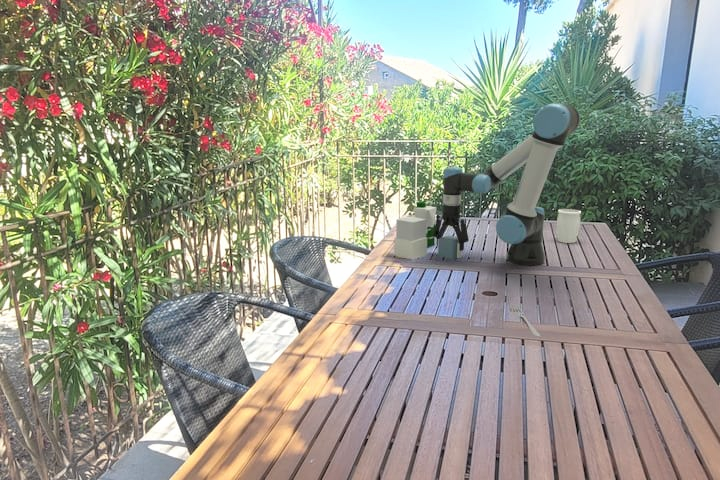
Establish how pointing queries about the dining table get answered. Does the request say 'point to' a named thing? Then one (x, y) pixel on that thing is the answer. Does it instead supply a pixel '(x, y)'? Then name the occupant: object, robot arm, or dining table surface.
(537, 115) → the robot arm
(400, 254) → the tower base
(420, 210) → the milk carton
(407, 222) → the tower top
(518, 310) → the fork
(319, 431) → the dining table surface
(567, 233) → the jar
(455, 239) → the slate block
